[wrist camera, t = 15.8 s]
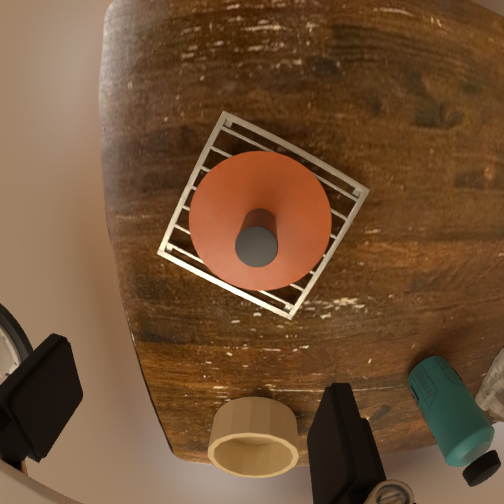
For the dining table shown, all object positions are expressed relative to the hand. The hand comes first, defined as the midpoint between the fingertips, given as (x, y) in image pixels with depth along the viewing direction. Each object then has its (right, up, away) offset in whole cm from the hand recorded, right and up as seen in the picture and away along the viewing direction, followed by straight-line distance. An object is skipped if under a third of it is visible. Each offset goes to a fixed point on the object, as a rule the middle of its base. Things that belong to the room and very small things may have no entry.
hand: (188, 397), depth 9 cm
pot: (+3, -19, +29) cm, 35 cm away
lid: (+3, +8, +17) cm, 19 cm away
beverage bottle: (+26, -11, +25) cm, 37 cm away
